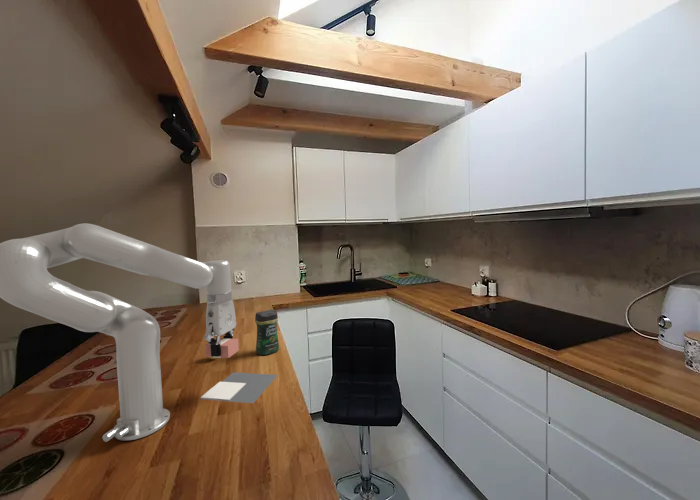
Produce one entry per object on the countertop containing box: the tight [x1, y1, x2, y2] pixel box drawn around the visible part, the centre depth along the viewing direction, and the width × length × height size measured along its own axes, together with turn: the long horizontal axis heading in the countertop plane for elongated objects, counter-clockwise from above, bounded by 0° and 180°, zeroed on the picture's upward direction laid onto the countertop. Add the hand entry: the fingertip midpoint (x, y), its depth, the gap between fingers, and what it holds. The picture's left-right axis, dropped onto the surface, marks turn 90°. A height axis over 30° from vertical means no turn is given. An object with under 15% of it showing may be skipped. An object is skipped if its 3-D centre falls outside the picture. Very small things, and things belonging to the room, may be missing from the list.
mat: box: [201, 371, 278, 404], centre depth 99 cm, size 18×18×1 cm
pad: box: [200, 381, 246, 401], centre depth 96 cm, size 10×10×1 cm
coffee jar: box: [254, 309, 280, 356], centre depth 129 cm, size 10×8×19 cm
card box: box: [204, 337, 240, 359], centre depth 96 cm, size 8×6×4 cm
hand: (222, 351), depth 96 cm, fingers closed on card box, 6 cm apart
